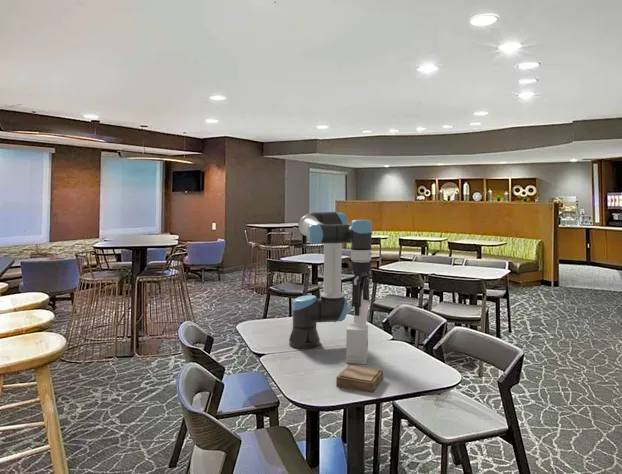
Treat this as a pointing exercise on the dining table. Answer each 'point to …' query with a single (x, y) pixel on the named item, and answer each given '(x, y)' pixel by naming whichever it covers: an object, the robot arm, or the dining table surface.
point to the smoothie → (363, 312)
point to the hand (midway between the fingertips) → (360, 321)
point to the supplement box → (357, 344)
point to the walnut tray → (359, 378)
